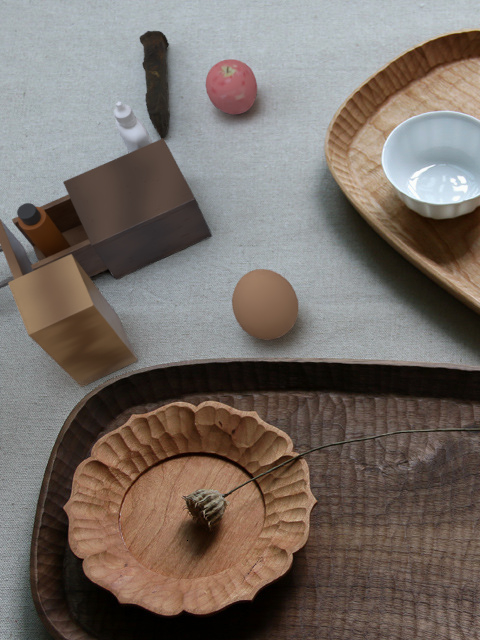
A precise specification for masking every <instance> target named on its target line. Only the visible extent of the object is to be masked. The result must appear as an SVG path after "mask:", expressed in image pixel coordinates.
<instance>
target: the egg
mask: <svg viewBox="0 0 480 640" xmlns="http://www.w3.org/2000/svg"><path fill="white" fill-rule="evenodd" d="M231 296H232V297H231V306H232V312H233V316H234V317H235V318H234V319H235V321H236V322H237V324H238V325H239V326H240V327H241V329H242V330H243V331H244V332H246V333H247V334H248V335H249V336H251V337H253V338H256V339H258V340H264V341H269V340H270V341H271V340H276V339H279V338H282V337H283V336H285V335H286V334H288V333H289V332H290V331H291V330H292V328H293V327H294V326H295V324H296V322H297V319H298V316H299V313H300V309H299V308H300V307H299V305H300V304H299V299H298V296H297V292H296V290H295V289H294V287H293V286H292V284H291V282H290V281H288V279H287V278H285V277H284V276H283V275H282V274H281V273H278V272H276V271H275V270H271V269H266V268H256V269H253V270H250V271H248V272H247V273H245V274H243V276H241V277H240V279H239V280H238V281H237V282H236V285H235V286H234V289H233V293H232V295H231Z"/></svg>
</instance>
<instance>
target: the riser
mask: <svg viewBox="0 0 480 640" xmlns="http://www.w3.org/2000/svg"><path fill="white" fill-rule="evenodd" d="M8 284H9V285H8V287H9V289H10V292H11V295H12V297H13V300H14V302H15V305H16V307H17V310H18V312H19V315H20V316H21V321H22V322H23V325H24V327H25V330H26V333H27V335H28V337H30V338H31V339H32V340H33V341H34V342H35V343H36V344H37V345H38V346H39V347H40V348H41V349H42V350H43V351H44V352H45V353H46V354H47V355H48V356H49V357H50V358H51V359H52V360H53V361H54V362H55V363H56V364H57V365H58V366H59V367H60V368H61V369H63V370H64V371H65V373H67V375H69V376H70V378H72V379H73V380H74V382H76V383H77V384H78V386H80V388H83V387H85V386H87V385H89V384H91V383H94V382H96V381H98V380H100V379H102V378H104V377H106V376H108V375H110V374H112V373H115V372H117V371H119V370H121V369H123V368H126V367H127V366H129V365H133V363H136V362H138V361H139V360H138V357H137V355H136V353H135V351H134V348H133V346H132V343H131V341H130V339H129V336H128V334H127V332H126V331H125V327H124V326H123V324H122V322H121V319H120V316H119V314H118V313H117V312H116V311H115V309H114V308H113V307H112V305H111V304H110V302H109V301H108V300H107V299H106V298H105V296H104V295H103V294H102V292H101V290H100V289H99V288H98V287H97V285H96V284H95V282H94V281H93V280H92V279H91V277H89V276H88V275H87V274H86V272H85V271H84V270H83V268H82V267H81V266H80V264H79V263H78V262H77V261H76V259H75V258H74V257H73V255H72V254H70V255H68V256H66V257H64V258H61V259H59V260H57V261H55V262H52V263H50V264H48V265H46V266H44V267H41V268H39V269H37V270H35V271H32V272H30V273H28V274H26V275H23V276H21V277H19V278H17V279H15V280H12V281H10V282H8Z"/></svg>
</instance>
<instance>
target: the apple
mask: <svg viewBox="0 0 480 640" xmlns="http://www.w3.org/2000/svg"><path fill="white" fill-rule="evenodd" d="M205 90H206V94H207V96H208V99H209V101H210V102H211V103H212V105H214V107H216V108H217V109H218V110H220V111H221V112H223V113H226V114H228V115H240V114H243V113H246V112H247V111H248V110H250V109H251V108H252V106H253V105H254V103H255V102H256V98H257V94H258V83H257V79H256V76H255V74H254V71H253V70H252V68H251V67H250V66H249V65H248V64H247V63H246V62H243V61H241V60H238V59H232V58H231V59H229V58H228V59H223V60H220V61H218V62H217V63H215V64H214V65H213V66H211V68H210V70H209V71H207V75H206V77H205Z"/></svg>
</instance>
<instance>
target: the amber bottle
mask: <svg viewBox="0 0 480 640" xmlns="http://www.w3.org/2000/svg"><path fill="white" fill-rule="evenodd" d="M40 207H41V206H36V205H34V204H33V203H30V202H28V203H23V204H21V205H20V206H19V207H18V209H17V211H16V215H17V217H19V218H18V223H19V225H20V227H21V228H22V229H23V230H24V232H25V233H26V234H27V235H28V236H29V238H30V239H31V240H32V241H33V243H34V244H35V245H36V246H37V247H38V249H39V250H40V251H41V252H42V254H43V255H44V256H45V257H46V258H47V257H50V256H52V255H54V254H56V253H58V252H61V251H63V250H65V249H67V248H70V247H71V245H70V244H69V243H68V241H67V240H66V239H65V237H64V236H63V235H62V233H61V232H60V231H59V229H58V228H57V227H56V225H55V224H54V223H53V221H52V220H51V219H50V217H49V216H48V215H47V213H46V212H45V211H44V210H43V209H42V208H40Z"/></svg>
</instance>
